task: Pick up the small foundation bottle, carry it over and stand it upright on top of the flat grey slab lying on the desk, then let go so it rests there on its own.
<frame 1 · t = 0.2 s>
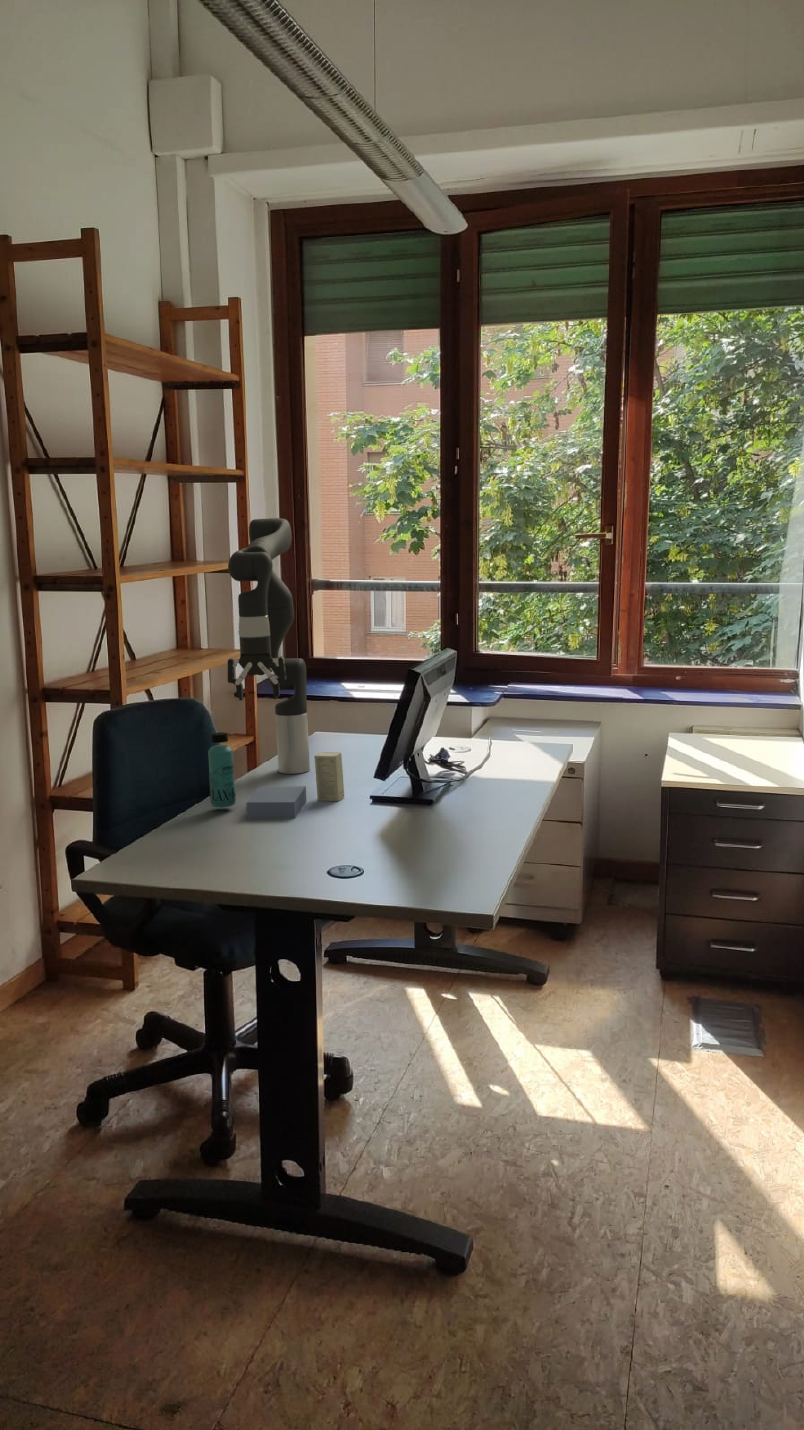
hand: (258, 699, 262), 29 cm above the table, fingers open, 8 cm apart
skincare box: (330, 799, 277), on the table
beverage bottle: (224, 810, 269), on the table
flat grey slab: (277, 811, 268), on the table
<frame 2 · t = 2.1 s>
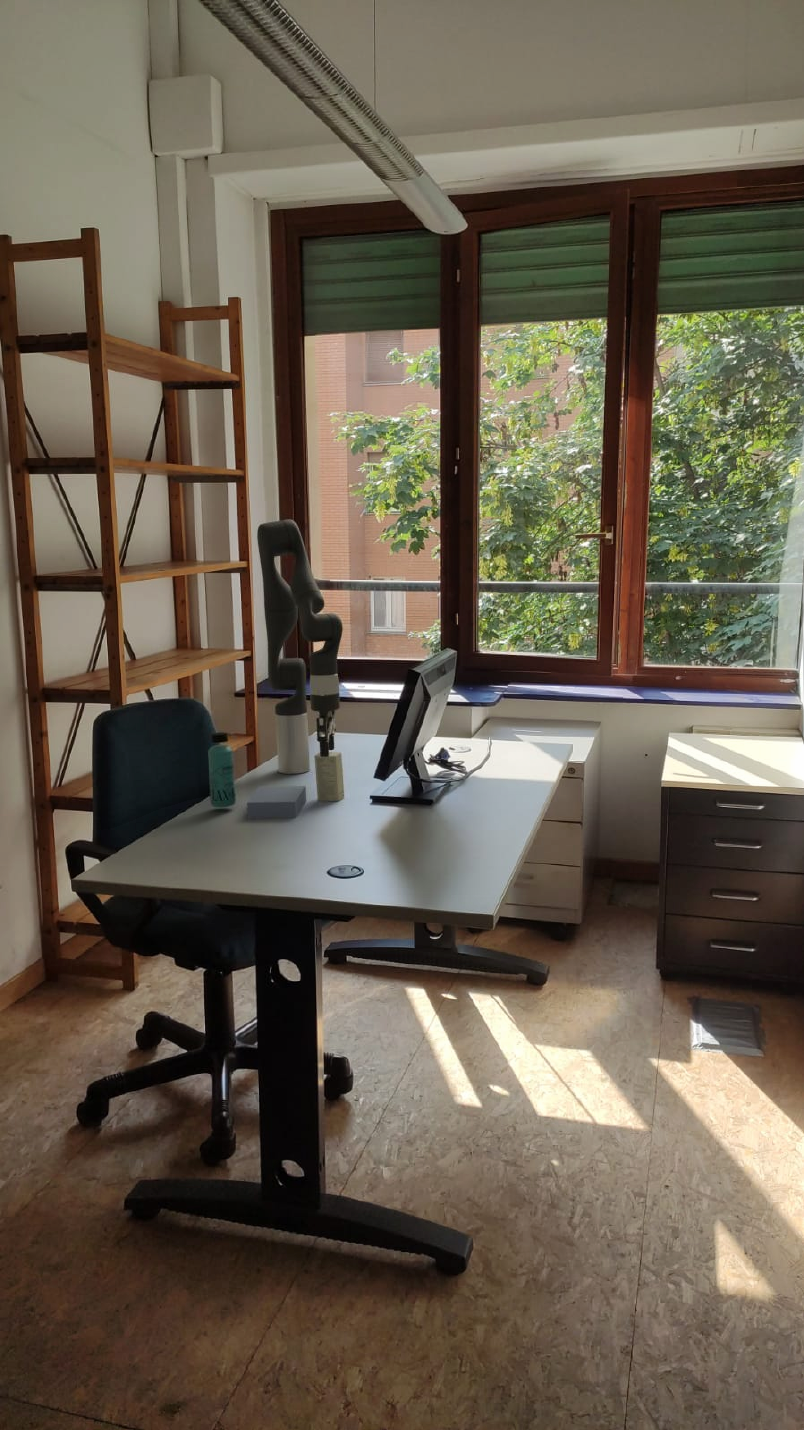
hand: (327, 753, 274), 12 cm above the table, fingers open, 8 cm apart
nothing on the table moved.
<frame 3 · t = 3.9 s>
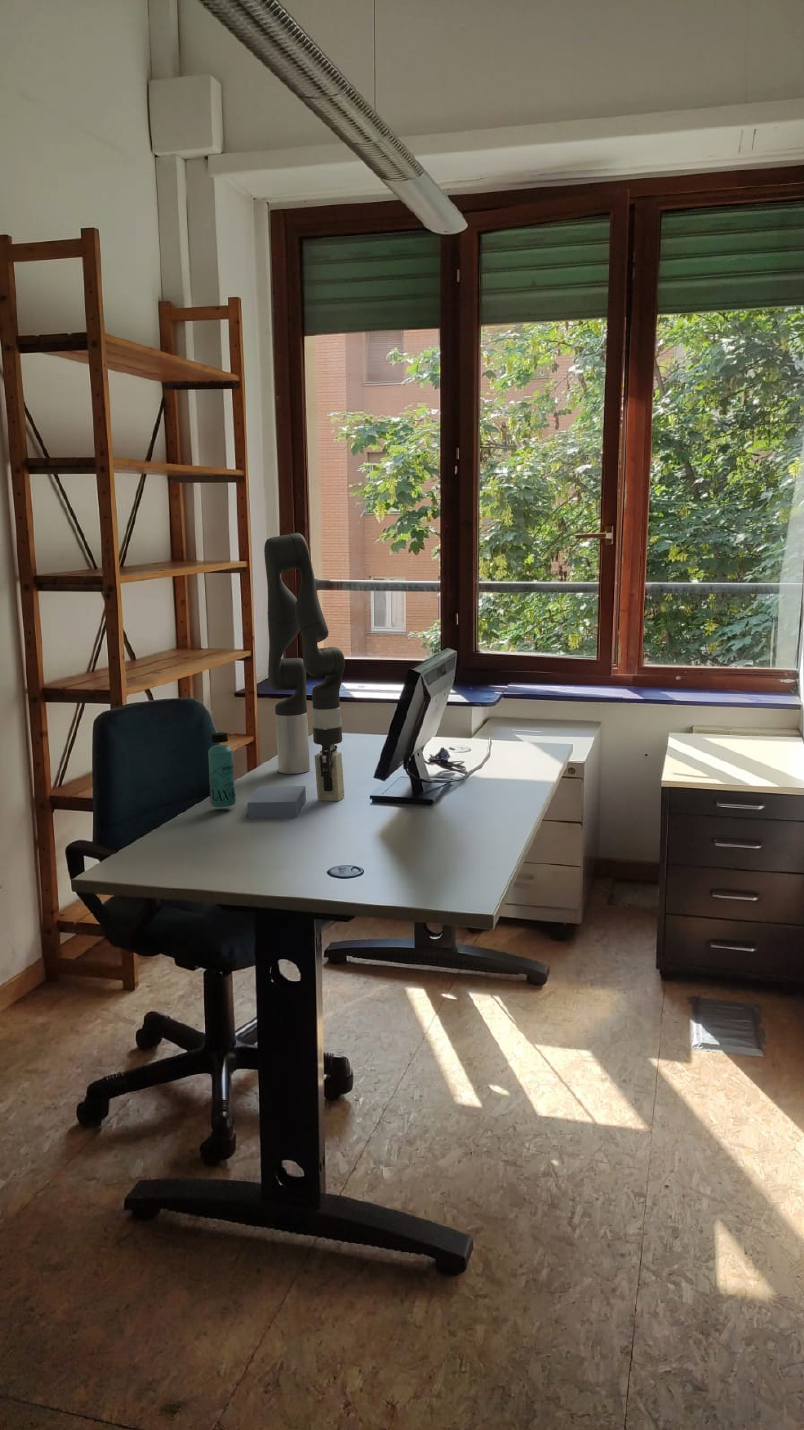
hand: (330, 788, 276), 3 cm above the table, fingers closed on skincare box, 5 cm apart
skincare box: (330, 799, 277), on the table, touching gripper
everything else where it was.
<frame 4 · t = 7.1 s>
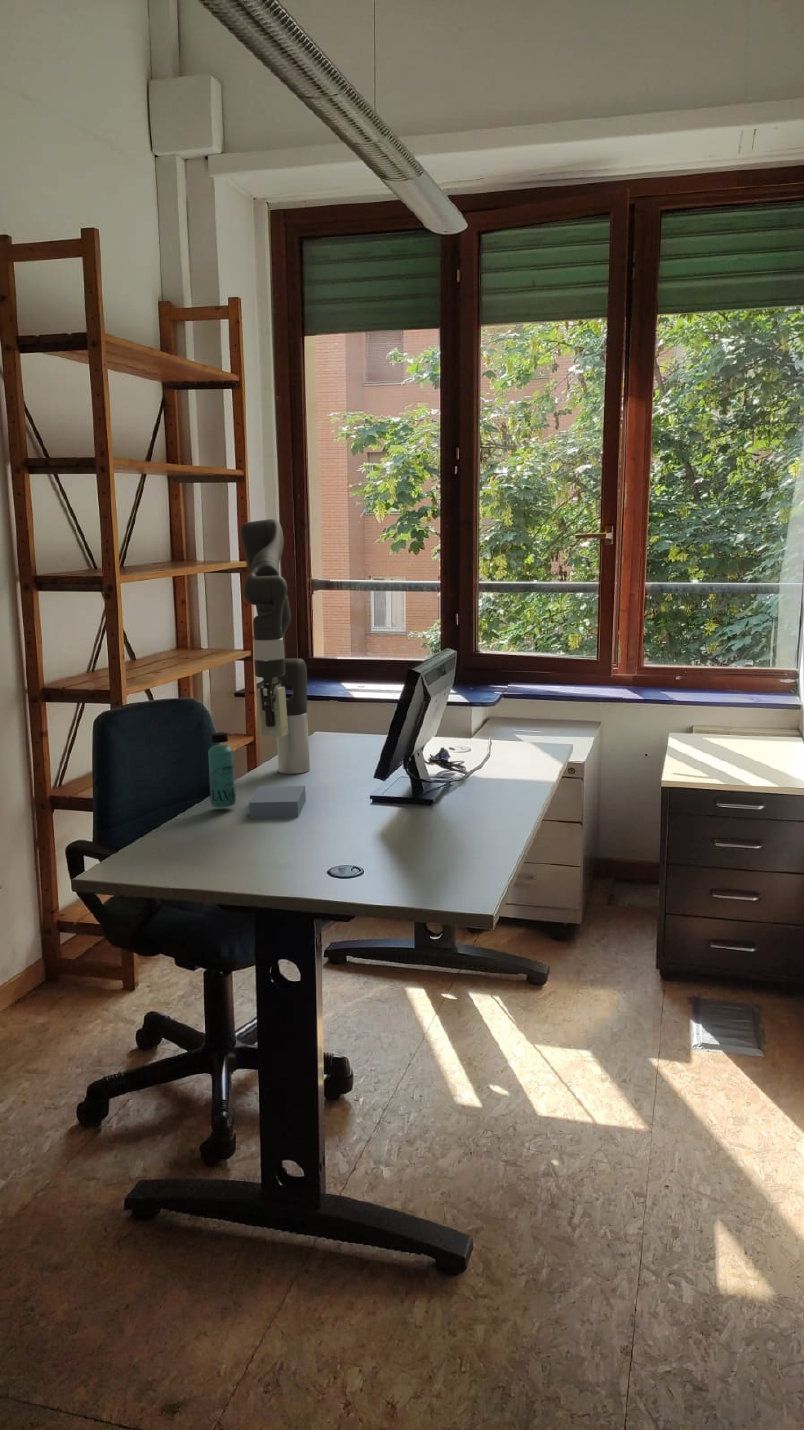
hand: (272, 724, 264), 22 cm above the table, fingers closed on skincare box, 5 cm apart
skincare box: (273, 736, 265), point 19 cm above the table, touching gripper
everything else where it was.
when the fingers open (8 cm above the table, at t = 10.3 s): skincare box drops 1 cm, resting on flat grey slab.
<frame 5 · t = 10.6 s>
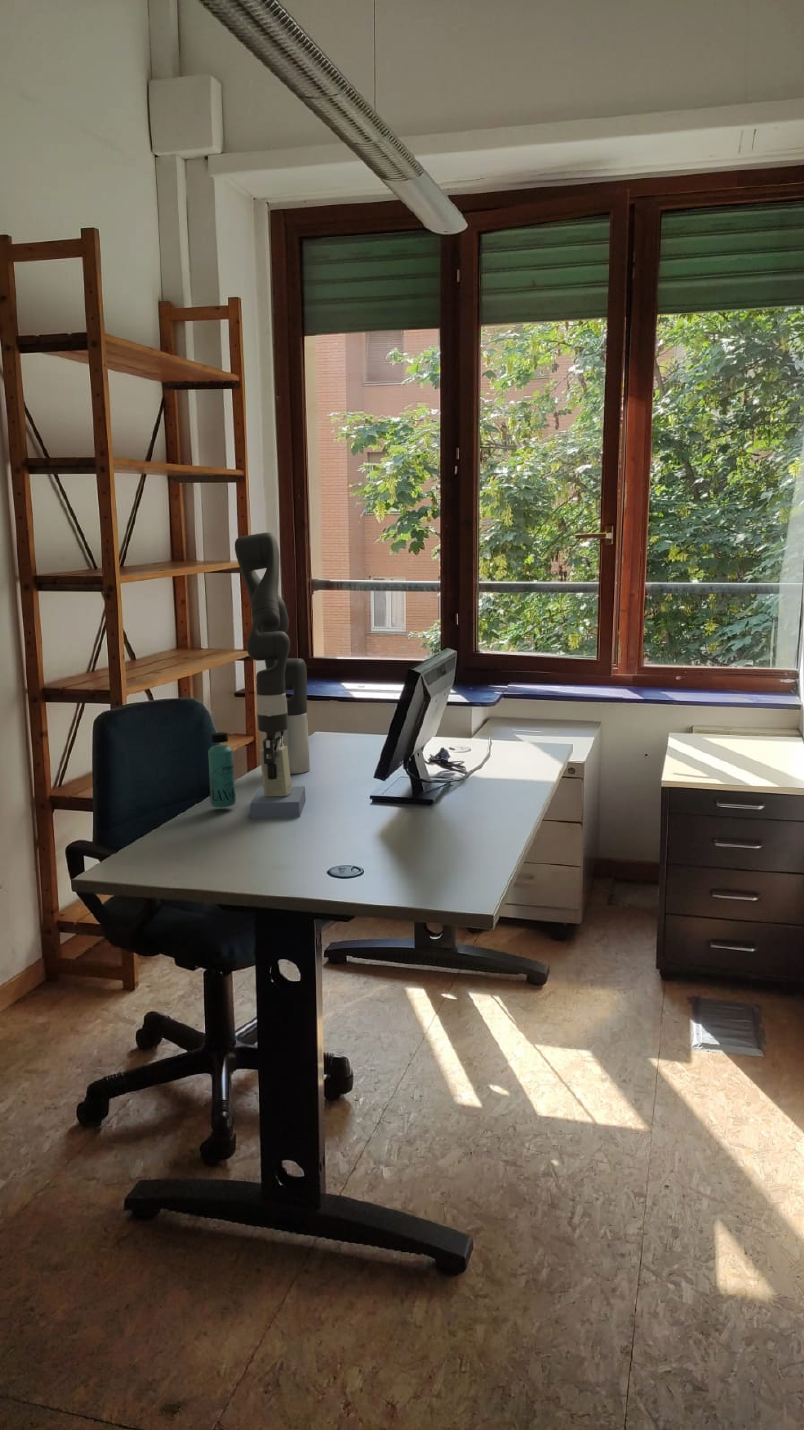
hand: (275, 775, 266), 9 cm above the table, fingers open, 7 cm apart
skincare box: (277, 795, 267), point 4 cm above the table, touching flat grey slab
flat grey slab: (279, 811, 268), on the table, touching skincare box
everything else where it was.
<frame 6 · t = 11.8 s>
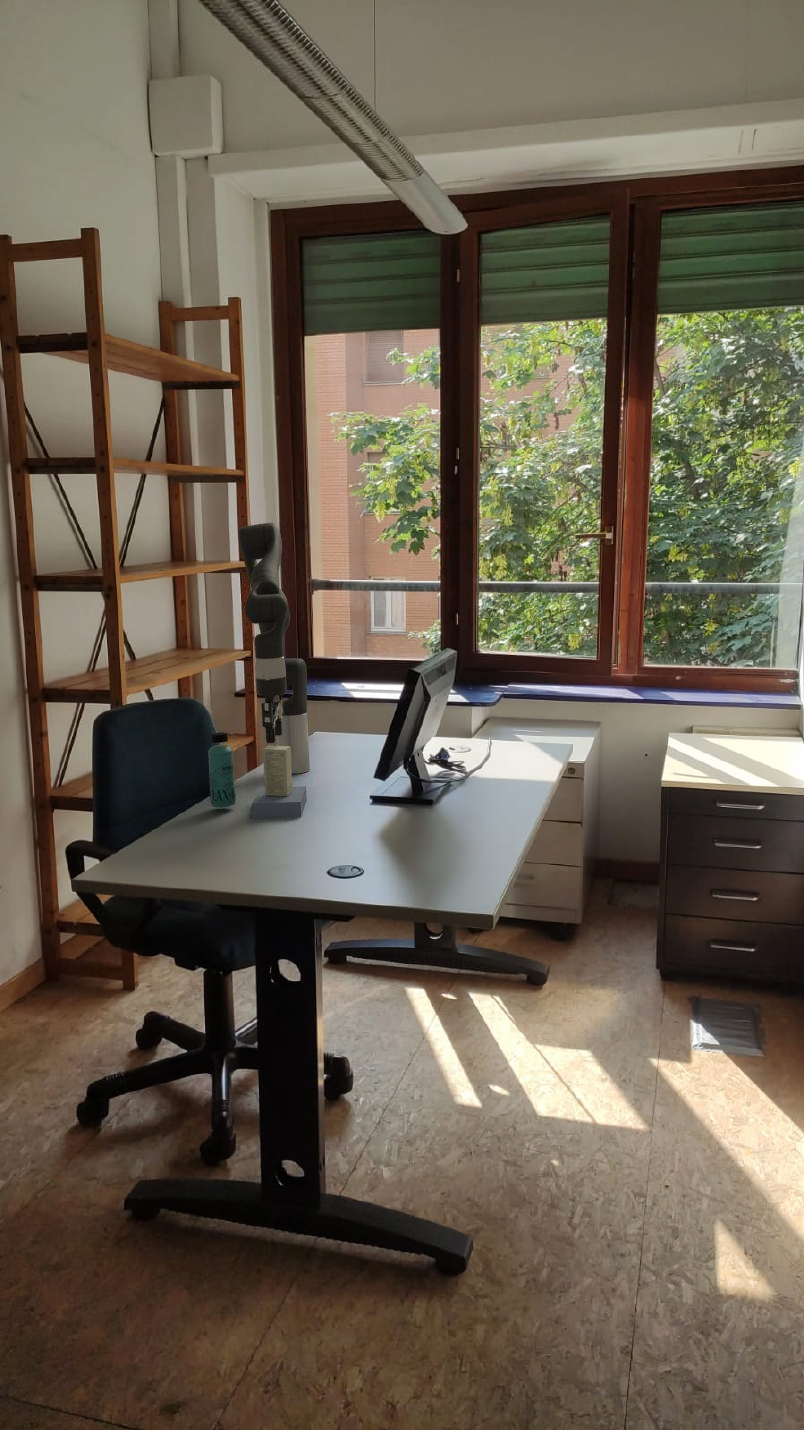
hand: (274, 739, 265), 18 cm above the table, fingers open, 8 cm apart
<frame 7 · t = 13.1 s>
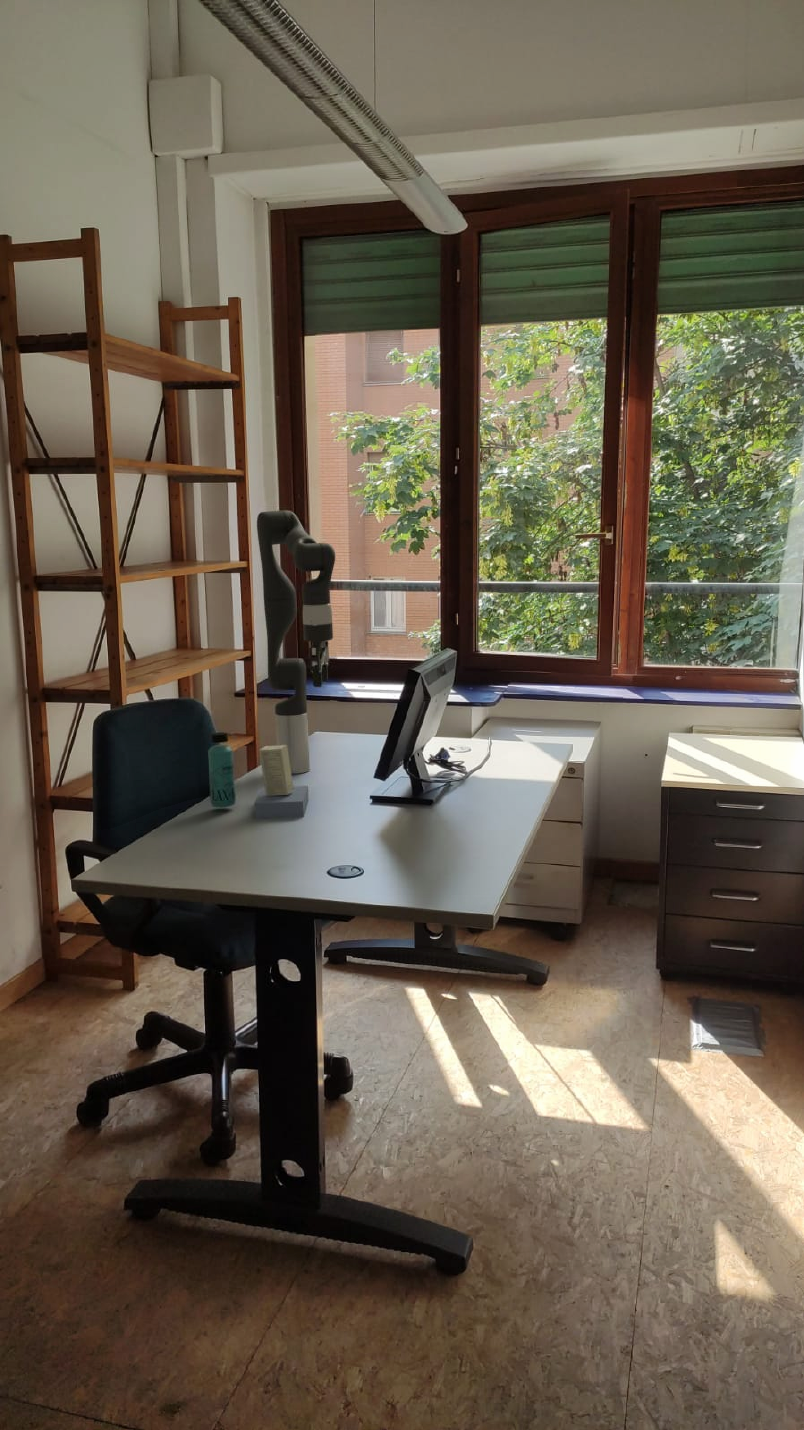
hand: (320, 683, 274), 30 cm above the table, fingers open, 8 cm apart
skincare box: (279, 794, 268), point 4 cm above the table
flat grey slab: (282, 811, 268), on the table
everything else where it was.
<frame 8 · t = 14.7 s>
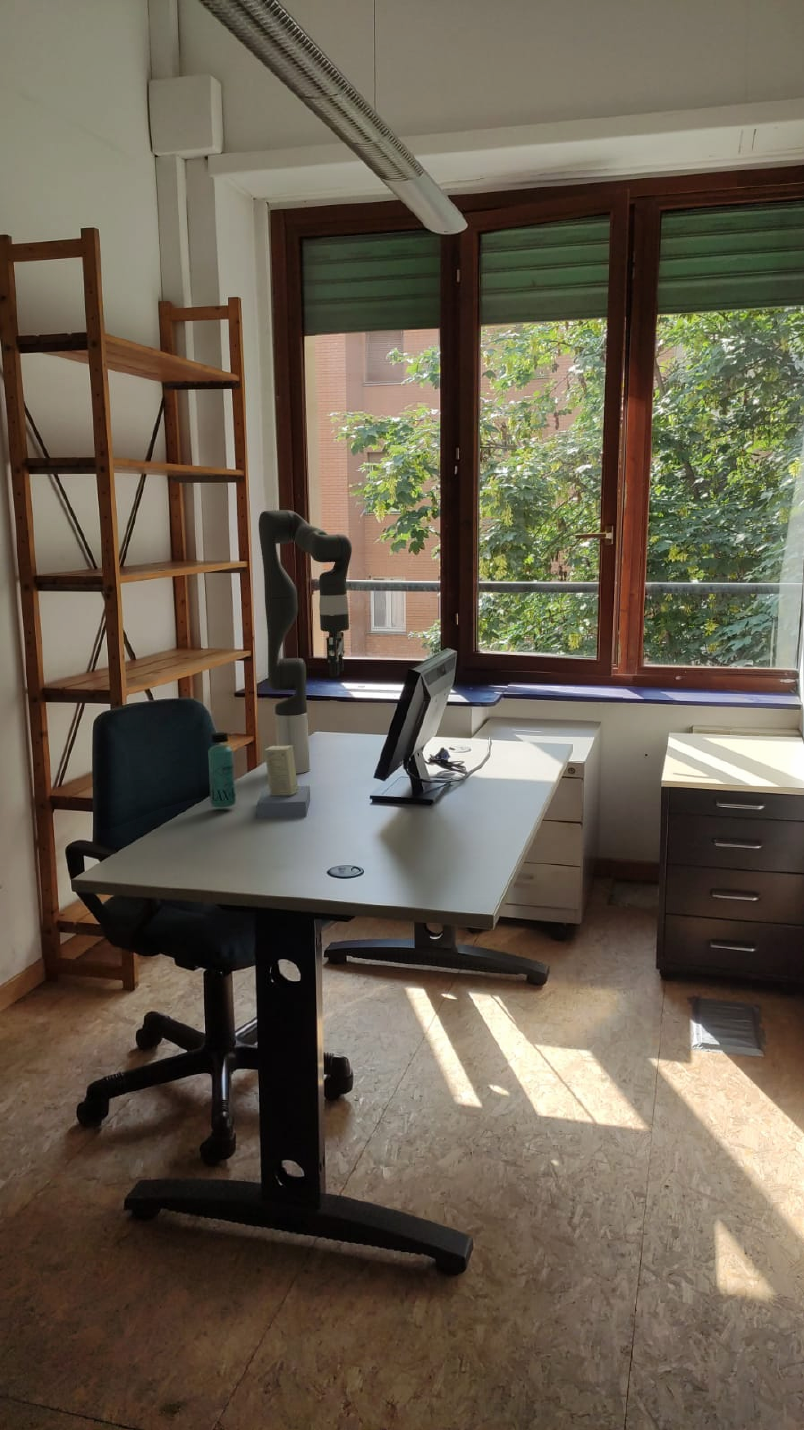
hand: (336, 673, 278), 32 cm above the table, fingers open, 8 cm apart
skincare box: (283, 794, 268), point 4 cm above the table, touching flat grey slab
flat grey slab: (284, 811, 268), on the table, touching skincare box
everything else where it was.
at the end: skincare box inside the target area on the flat grey slab (0.3 cm from its centre), point 4.5 cm above the flat grey slab's base; skincare box tilted 4°; the gripper is holding nothing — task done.
